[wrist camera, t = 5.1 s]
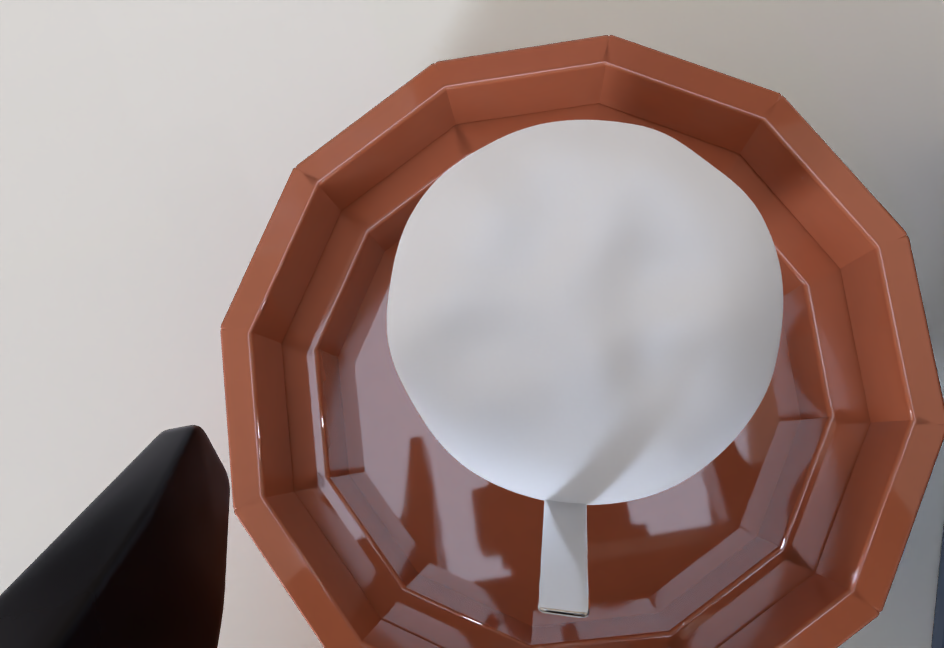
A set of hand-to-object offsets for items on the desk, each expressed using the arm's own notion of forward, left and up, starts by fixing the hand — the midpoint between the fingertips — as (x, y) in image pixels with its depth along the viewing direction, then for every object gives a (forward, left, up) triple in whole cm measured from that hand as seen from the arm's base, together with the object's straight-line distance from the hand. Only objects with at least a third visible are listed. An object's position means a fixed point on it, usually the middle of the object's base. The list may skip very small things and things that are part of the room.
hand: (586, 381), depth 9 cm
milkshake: (0, 0, -8) cm, 8 cm away
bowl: (0, 0, -8) cm, 8 cm away
